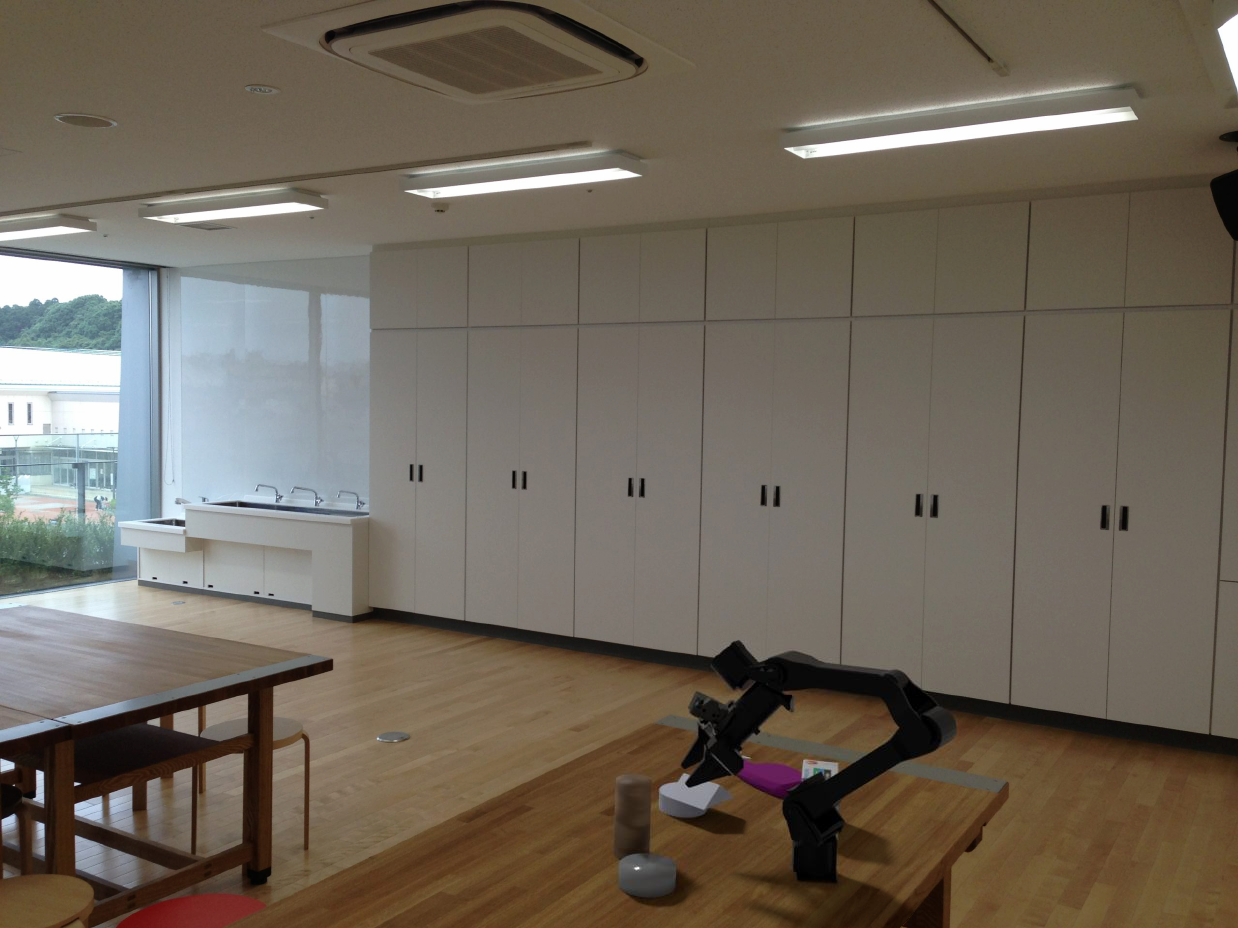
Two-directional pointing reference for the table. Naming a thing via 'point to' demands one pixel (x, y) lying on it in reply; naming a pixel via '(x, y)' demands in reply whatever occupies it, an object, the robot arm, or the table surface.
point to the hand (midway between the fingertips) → (684, 775)
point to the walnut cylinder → (632, 815)
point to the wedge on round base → (690, 798)
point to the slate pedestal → (647, 875)
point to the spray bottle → (770, 777)
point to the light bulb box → (816, 766)
